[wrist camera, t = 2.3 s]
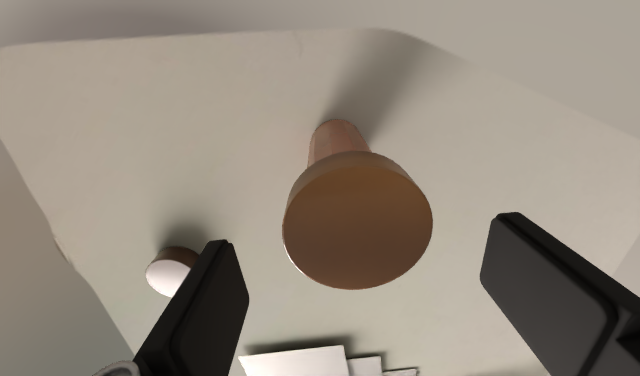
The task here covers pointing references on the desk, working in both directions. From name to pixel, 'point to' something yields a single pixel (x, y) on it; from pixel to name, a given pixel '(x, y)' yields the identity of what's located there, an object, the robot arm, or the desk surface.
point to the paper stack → (315, 364)
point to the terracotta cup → (335, 140)
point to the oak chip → (356, 221)
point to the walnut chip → (170, 269)
